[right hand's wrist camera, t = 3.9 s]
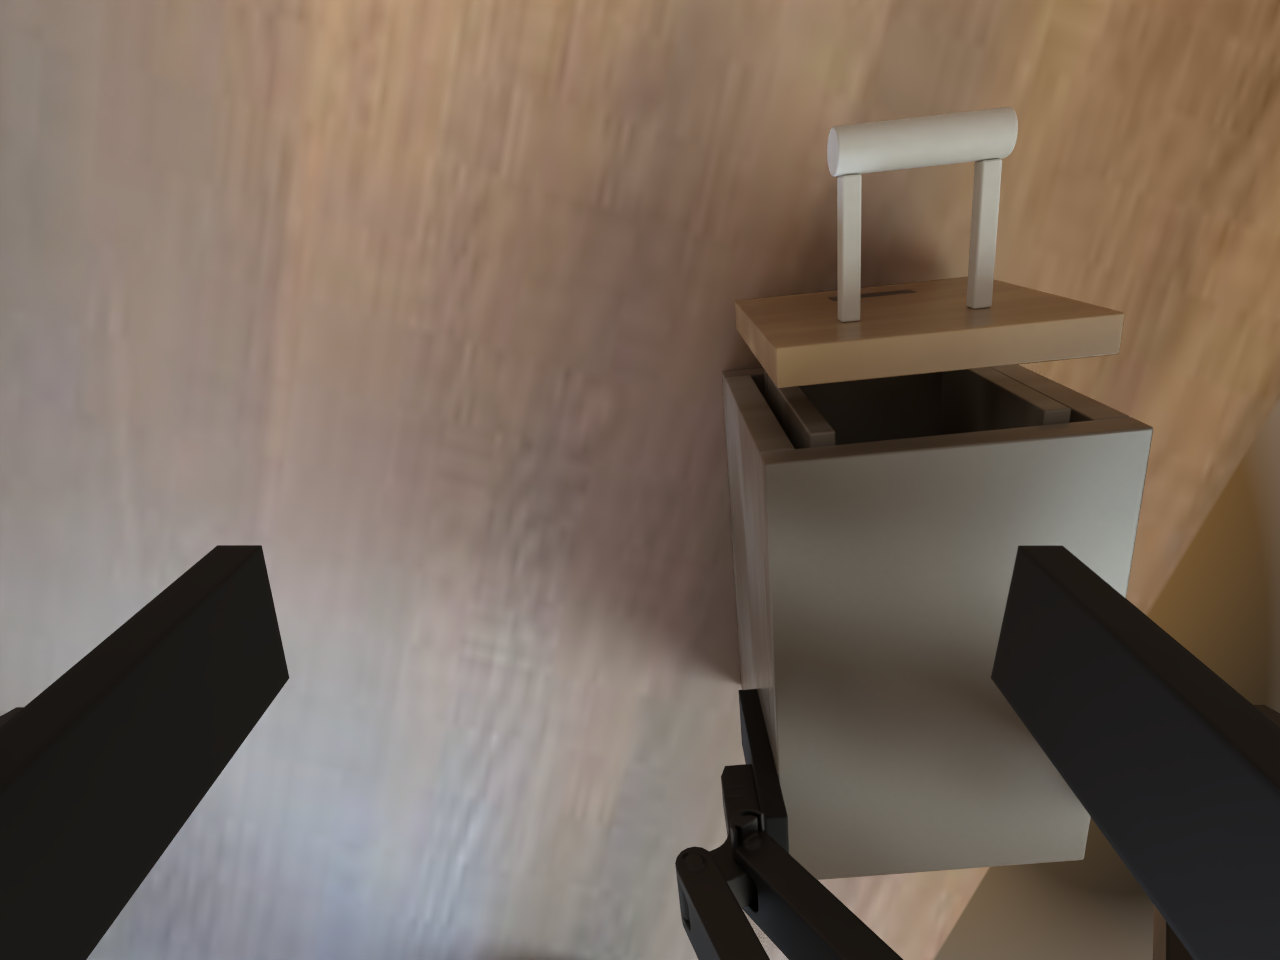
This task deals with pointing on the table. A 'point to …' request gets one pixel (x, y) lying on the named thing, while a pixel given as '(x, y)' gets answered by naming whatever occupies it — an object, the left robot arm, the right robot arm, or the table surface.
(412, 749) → the table surface
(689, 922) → the left robot arm
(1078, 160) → the table surface
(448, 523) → the table surface
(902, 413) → the drawer
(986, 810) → the cabinet
